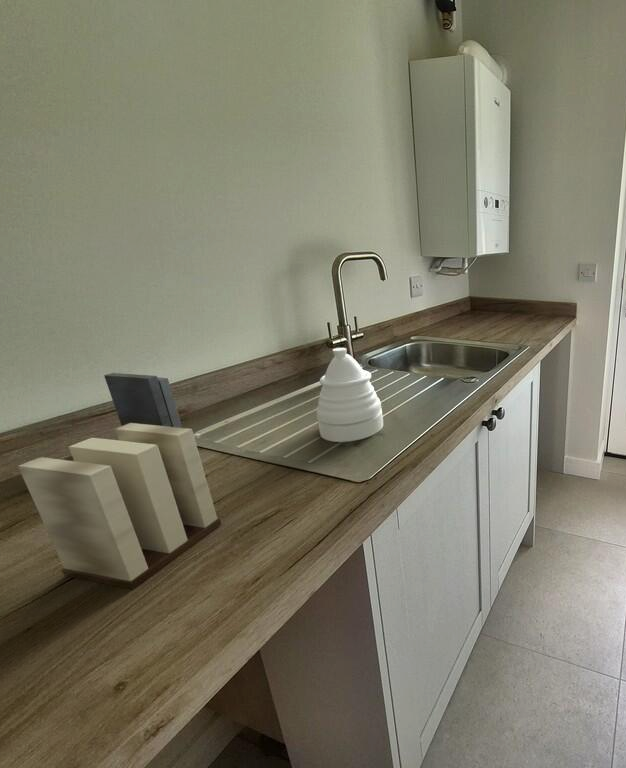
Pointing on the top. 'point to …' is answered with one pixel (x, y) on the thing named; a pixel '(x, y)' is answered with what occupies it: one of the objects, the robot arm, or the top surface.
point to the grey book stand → (143, 399)
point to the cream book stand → (117, 508)
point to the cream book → (139, 489)
